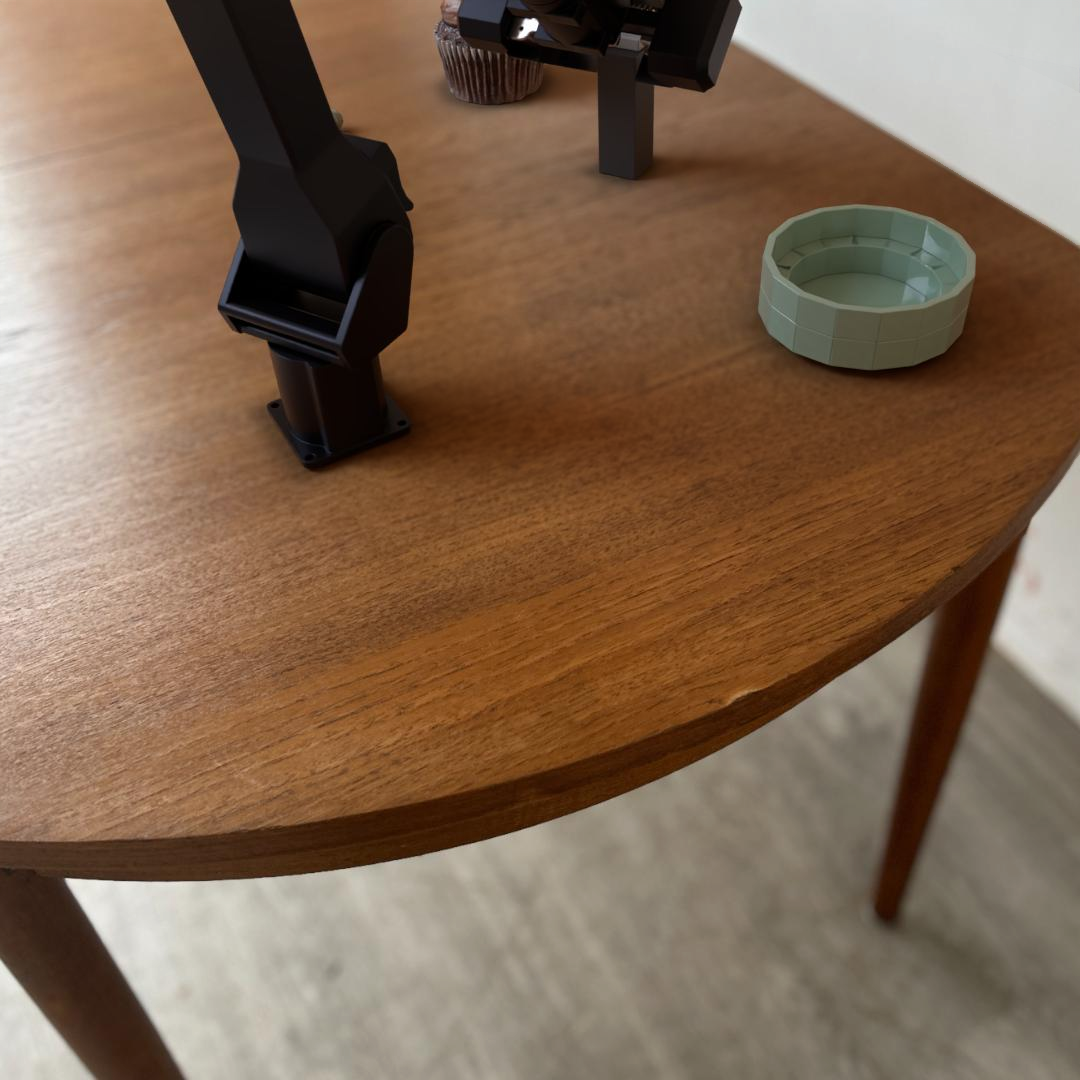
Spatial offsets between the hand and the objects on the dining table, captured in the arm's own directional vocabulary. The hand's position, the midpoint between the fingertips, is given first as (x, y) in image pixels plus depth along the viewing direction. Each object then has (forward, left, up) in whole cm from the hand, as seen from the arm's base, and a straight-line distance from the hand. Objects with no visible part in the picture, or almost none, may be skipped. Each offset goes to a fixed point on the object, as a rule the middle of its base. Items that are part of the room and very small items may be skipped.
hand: (635, 72), depth 85 cm
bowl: (-26, 0, -7) cm, 27 cm away
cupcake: (+18, +2, -7) cm, 20 cm away
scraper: (-1, +1, -7) cm, 7 cm away
